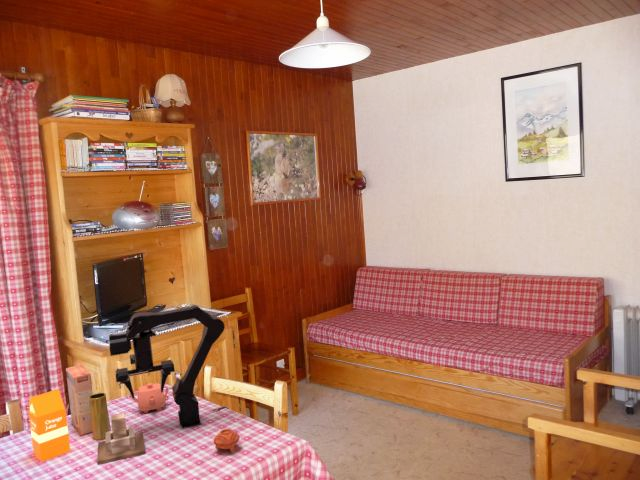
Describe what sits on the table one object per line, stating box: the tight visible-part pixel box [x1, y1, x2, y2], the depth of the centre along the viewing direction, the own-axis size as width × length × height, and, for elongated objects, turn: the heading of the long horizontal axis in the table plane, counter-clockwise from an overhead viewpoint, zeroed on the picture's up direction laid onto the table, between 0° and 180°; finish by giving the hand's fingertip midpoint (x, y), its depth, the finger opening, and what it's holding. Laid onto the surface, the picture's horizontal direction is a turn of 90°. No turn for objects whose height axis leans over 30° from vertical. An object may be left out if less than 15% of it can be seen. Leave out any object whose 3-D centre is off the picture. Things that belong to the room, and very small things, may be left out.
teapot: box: [129, 382, 170, 414], centre depth 207 cm, size 12×12×10 cm
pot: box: [213, 428, 241, 453], centre depth 171 cm, size 8×8×7 cm
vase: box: [89, 392, 112, 441], centre depth 186 cm, size 6×6×14 cm
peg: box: [110, 412, 127, 439], centre depth 175 cm, size 4×4×10 cm
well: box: [96, 426, 146, 465], centre depth 176 cm, size 14×14×5 cm
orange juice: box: [27, 388, 71, 462], centre depth 176 cm, size 8×9×20 cm
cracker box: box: [65, 364, 93, 436], centre depth 194 cm, size 14×6×21 cm, turn 35°
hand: (147, 394), depth 186 cm, fingers open, 9 cm apart
